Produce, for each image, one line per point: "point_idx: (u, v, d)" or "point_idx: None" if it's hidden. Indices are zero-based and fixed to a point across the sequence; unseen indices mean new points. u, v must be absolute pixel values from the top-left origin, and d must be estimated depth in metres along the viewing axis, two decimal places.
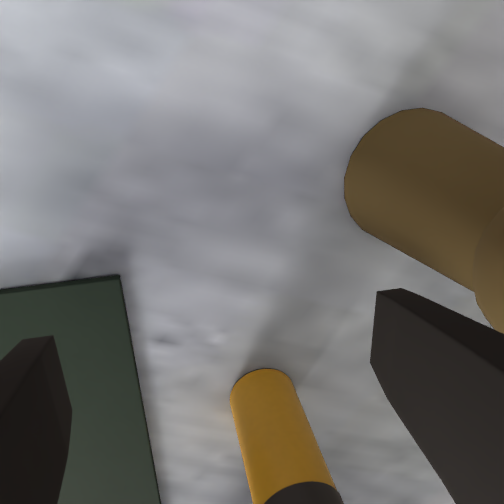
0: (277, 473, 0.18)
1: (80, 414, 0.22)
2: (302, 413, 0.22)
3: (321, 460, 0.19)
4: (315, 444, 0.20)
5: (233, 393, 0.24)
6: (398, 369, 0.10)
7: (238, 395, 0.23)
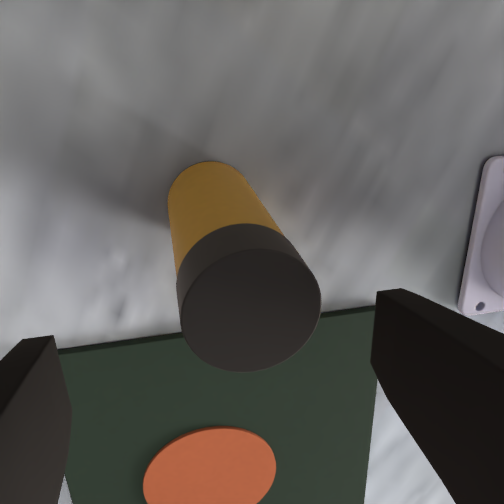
0: None
1: (200, 385, 0.22)
2: (187, 193, 0.16)
3: (194, 223, 0.13)
4: (193, 211, 0.14)
5: None
6: (398, 369, 0.10)
7: None
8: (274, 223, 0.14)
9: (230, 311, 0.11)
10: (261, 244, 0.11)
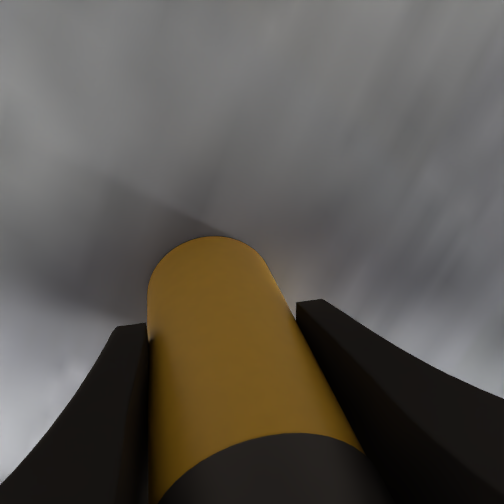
0: None
1: None
2: (174, 307, 0.10)
3: (181, 401, 0.07)
4: (181, 362, 0.08)
5: None
6: None
7: None
8: (326, 391, 0.08)
9: None
10: None
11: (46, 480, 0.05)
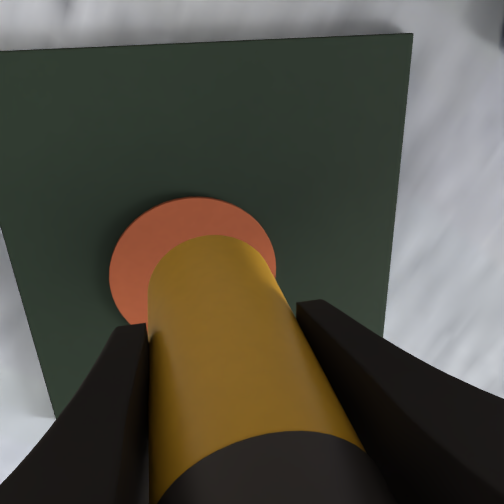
0: None
1: (178, 128, 0.17)
2: (174, 306, 0.10)
3: (182, 399, 0.07)
4: (181, 360, 0.08)
5: None
6: None
7: None
8: (327, 390, 0.08)
9: None
10: None
11: (46, 480, 0.05)
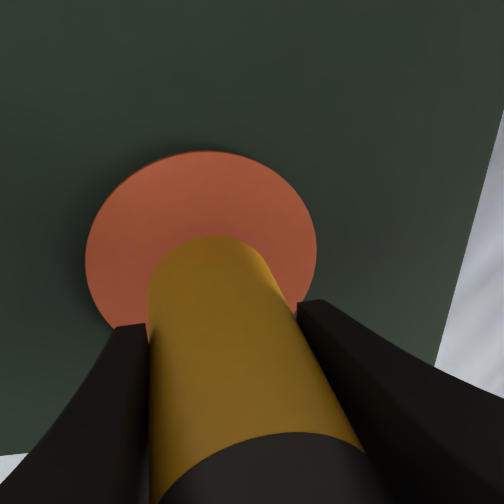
0: None
1: (207, 45, 0.12)
2: (174, 306, 0.10)
3: (182, 400, 0.07)
4: (181, 361, 0.08)
5: None
6: None
7: None
8: (327, 391, 0.08)
9: None
10: None
11: (45, 480, 0.05)
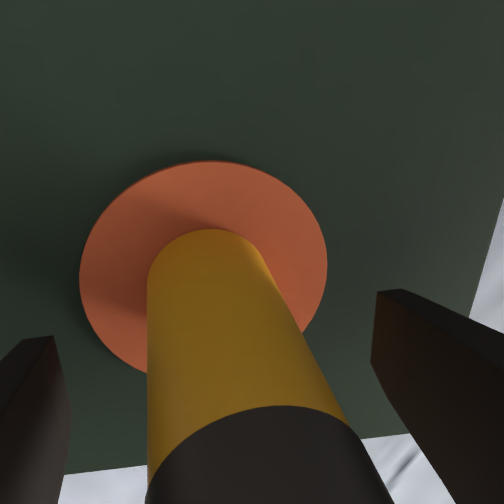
0: None
1: (211, 47, 0.11)
2: (172, 295, 0.10)
3: (178, 379, 0.08)
4: (178, 344, 0.08)
5: None
6: (398, 369, 0.10)
7: None
8: (315, 371, 0.08)
9: None
10: (310, 491, 0.05)
11: None
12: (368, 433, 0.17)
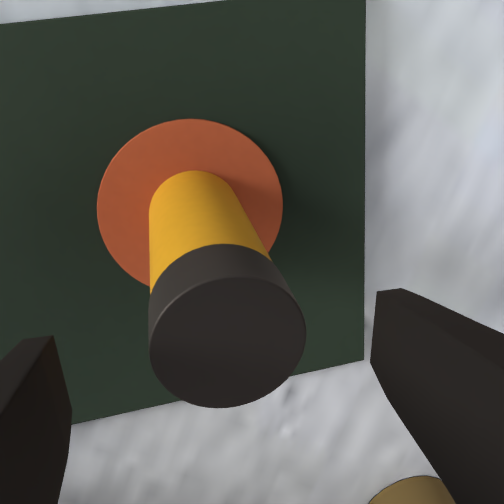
0: (266, 253, 0.12)
1: None
2: None
3: None
4: None
5: (205, 173, 0.17)
6: (398, 369, 0.10)
7: (216, 180, 0.17)
8: None
9: (256, 346, 0.10)
10: None
11: None
12: None
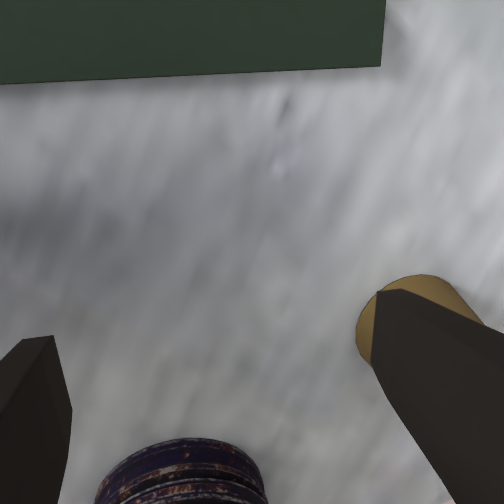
0: None
1: None
2: None
3: None
4: None
5: None
6: (398, 369, 0.10)
7: None
8: None
9: None
10: None
11: None
12: None
